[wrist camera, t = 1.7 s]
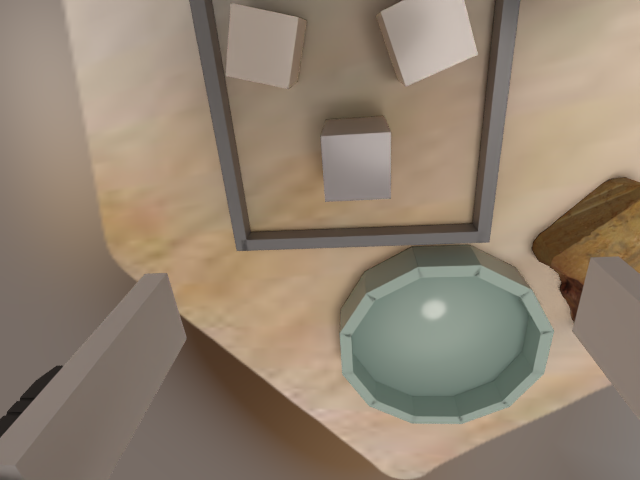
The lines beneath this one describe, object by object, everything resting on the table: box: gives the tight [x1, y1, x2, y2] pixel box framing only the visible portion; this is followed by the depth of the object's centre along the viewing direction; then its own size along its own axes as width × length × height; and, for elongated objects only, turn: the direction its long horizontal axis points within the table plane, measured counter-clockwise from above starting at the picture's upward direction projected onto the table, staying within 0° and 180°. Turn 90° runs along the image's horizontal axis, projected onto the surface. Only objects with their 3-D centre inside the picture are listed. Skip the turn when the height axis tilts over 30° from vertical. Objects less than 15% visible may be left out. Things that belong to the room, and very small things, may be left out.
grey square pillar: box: [320, 116, 391, 202], centre depth 29 cm, size 4×4×6 cm
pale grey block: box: [376, 0, 478, 87], centre depth 25 cm, size 4×4×5 cm
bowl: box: [340, 245, 554, 424], centre depth 37 cm, size 18×18×4 cm
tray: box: [189, 0, 520, 251], centre depth 30 cm, size 20×21×2 cm
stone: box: [532, 177, 640, 322], centre depth 32 cm, size 15×9×5 cm, turn 36°
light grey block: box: [225, 3, 307, 89], centre depth 26 cm, size 4×4×5 cm
